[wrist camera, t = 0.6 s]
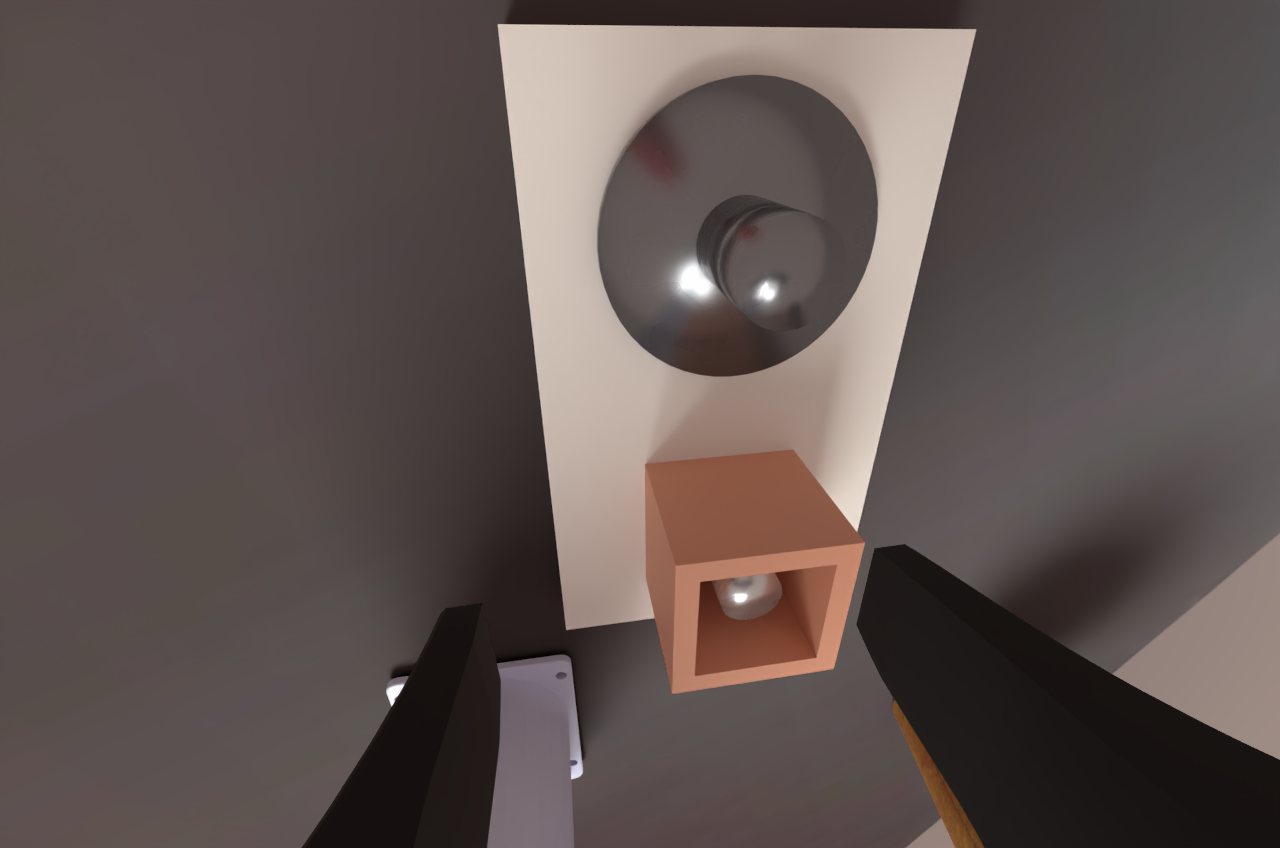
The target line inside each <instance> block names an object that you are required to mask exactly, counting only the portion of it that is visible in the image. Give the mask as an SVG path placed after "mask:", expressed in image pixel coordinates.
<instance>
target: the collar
mask: <svg viewBox="0 0 1280 848" xmlns="http://www.w3.org/2000/svg"><path fill="white" fill-rule="evenodd" d="M645 543H646V582H647V586H648V590H649V595H650V599H651V603H652V608H653V612H654V617H655V621H656V625H657V630H658V634H659V638H660V643H661V647H662V652H663V656H664V660H665V665H666V669H667V673H668V678H669V682H670V687H671V691H672V694H675V693H682V692H688V691H694V690H701V689H707V688H714V687H720V686H727V685H733V684H740V683H746V682H753V681H759V680H765V679H772V678H778V677H785V676H791V675H798V674H804V673H811V672H817V671H824V670H830V669H834V665H835V661H836V657H837V653H838V649H839V645H840V641H841V637H842V633H843V629H844V625H845V621H846V617H847V613H848V609H849V605H850V601H851V597H852V593H853V589H854V585H855V581H856V577H857V573H858V569H859V565H860V561H861V557H862V553H863V549H864V545H865V542H864V541H863V539H862V538H861V537H860V535H859V534H858V533H857V531H856V530H855V529H854V528H853V526H852V525H851V524H850V522H849V521H848V520H847V518H846V517H845V516H844V515H843V513H842V512H841V511H840V509H839V508H838V507H837V506H836V504H835V503H834V502H833V500H832V499H831V498H830V496H829V495H828V494H827V493H826V491H825V490H824V489H823V487H822V486H821V485H820V484H819V482H818V481H817V480H816V478H815V477H814V476H813V474H812V473H811V472H810V471H809V469H808V468H807V467H806V465H805V464H804V463H803V461H802V460H801V459H800V458H799V456H798V455H797V454H796V452H795V451H794V450H783V451H772V452H762V453H752V454H742V455H731V456H721V457H711V458H700V459H690V460H680V461H670V462H659V463H649V464H645ZM774 572H775V574H776V576H777V578H778V580H779V582H780V583H781V586H782V596H781V598H780V600H779V602H778V603H777V605H776V606H775V607H774V608H773V609H772V610H771V611H769V612H768V613H766V614H764V615H762V616H760V617H758V618H754V619H750V620H737V619H733V618H731V617H729V616H727V615H726V614H725V613H724V612H723V610H722V608H721V605H720V603H719V600H718V597H717V595H716V592H715V589H714V586H713V584H712V581H711V580H719V579H727V578H735V577H743V576H751V575H758V574H766V573H774Z"/></svg>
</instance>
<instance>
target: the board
mask: <svg viewBox="0 0 1280 848" xmlns="http://www.w3.org/2000/svg"><path fill="white" fill-rule="evenodd" d="M498 32H499V41H500V49H501V58H502V67H503V76H504V85H505V94H506V102H507V111H508V120H509V129H510V138H511V147H512V155H513V164H514V173H515V182H516V191H517V200H518V208H519V217H520V226H521V235H522V244H523V253H524V262H525V270H526V279H527V288H528V297H529V306H530V315H531V323H532V332H533V341H534V350H535V359H536V368H537V376H538V385H539V394H540V403H541V412H542V421H543V429H544V438H545V447H546V456H547V465H548V474H549V482H550V491H551V500H552V509H553V518H554V527H555V535H556V544H557V553H558V562H559V571H560V580H561V588H562V597H563V606H564V615H565V624H566V630H570V629H578V628H585V627H593V626H600V625H607V624H615V623H622V622H629V621H637V620H644V619H652V618H655V617H654V612H653V608H652V603H651V599H650V595H649V590H648V586H647V582H646V543H645V464H649V463H659V462H670V461H680V460H690V459H700V458H711V457H721V456H731V455H742V454H752V453H762V452H772V451H783V450H794V451H795V452H796V454H797V455H798V456H799V458H800V459H801V460H802V461H803V463H804V464H805V465H806V467H807V468H808V469H809V471H810V472H811V473H812V474H813V476H814V477H815V478H816V480H817V481H818V482H819V484H820V485H821V486H822V487H823V489H824V490H825V491H826V493H827V494H828V495H829V496H830V498H831V499H832V500H833V502H834V503H835V504H836V506H837V507H838V508H839V509H840V511H841V512H842V513H843V515H844V516H845V517H846V518H847V520H848V521H849V522H850V524H851V525H852V526H853V528H854V529H855V530H856V531H858V526H859V522H860V518H861V514H862V509H863V505H864V501H865V497H866V493H867V488H868V484H869V480H870V476H871V472H872V467H873V463H874V459H875V455H876V450H877V446H878V442H879V438H880V434H881V429H882V425H883V421H884V417H885V412H886V408H887V404H888V400H889V396H890V391H891V387H892V383H893V379H894V375H895V370H896V366H897V362H898V358H899V353H900V349H901V345H902V341H903V337H904V332H905V328H906V324H907V320H908V315H909V311H910V307H911V303H912V299H913V294H914V290H915V286H916V282H917V278H918V273H919V269H920V265H921V261H922V256H923V252H924V248H925V244H926V240H927V235H928V231H929V227H930V223H931V218H932V214H933V210H934V206H935V202H936V197H937V193H938V189H939V185H940V180H941V176H942V172H943V168H944V164H945V159H946V155H947V151H948V147H949V143H950V138H951V134H952V130H953V126H954V121H955V117H956V113H957V109H958V105H959V100H960V96H961V92H962V88H963V83H964V79H965V75H966V71H967V67H968V62H969V58H970V54H971V50H972V46H973V41H974V37H975V33H976V29H897V28H803V27H709V26H615V25H521V24H498ZM754 74H755V75H767V76H777V77H781V78H785V79H788V80H792V81H796V82H798V83H800V84H802V85H805V86H807V87H809V88H812V89H813V90H815V91H816V92H818V93H819V94H821V95H823V96H824V97H826V98H827V99H829V100H830V101H831V102H832V103H833V104H834V105H835V106H836V107H837V108H838V109H839V110H841V111H842V112H843V113H844V115H845V116H846V117H847V118H848V120H849V121H850V122H851V124H852V125H853V126H854V127H855V129H856V131H857V132H858V134H859V136H860V138H861V140H862V141H863V143H864V145H865V147H866V150H867V153H868V155H869V158H870V160H871V163H872V167H873V171H874V176H875V180H876V187H877V197H878V221H877V228H876V236H875V241H874V245H873V249H872V253H871V257H870V260H869V263H868V265H867V268H866V271H865V274H864V276H863V278H862V280H861V282H860V284H859V286H858V288H857V290H856V292H855V294H854V295H853V297H852V299H851V300H850V302H849V303H848V305H847V306H846V308H845V309H844V311H843V312H842V313H841V314H840V316H839V317H838V318H837V319H836V321H835V322H834V323H833V324H832V325H831V326H830V327H829V328H828V329H827V330H826V331H825V332H824V333H823V334H822V335H821V336H820V337H819V338H818V339H817V340H815V341H814V342H813V343H812V344H811V345H809V346H808V347H807V348H805V349H804V350H802V351H801V352H799V353H798V354H796V355H795V356H793V357H791V358H789V359H787V360H786V361H784V362H782V363H780V364H778V365H775V366H772V367H770V368H767V369H765V370H762V371H758V372H754V373H750V374H746V375H738V376H730V377H713V376H704V375H698V374H694V373H690V372H686V371H682V370H680V369H677V368H675V367H672V366H670V365H668V364H666V363H664V362H663V361H661V360H659V359H657V358H655V357H654V356H653V355H651V354H650V353H649V352H648V351H646V350H645V349H644V348H642V347H641V346H640V345H639V344H638V343H637V342H636V341H635V340H634V339H633V338H632V337H631V336H630V334H629V333H628V332H627V330H626V329H625V328H624V326H623V325H622V324H621V322H620V321H619V319H618V317H617V315H616V313H615V312H614V310H613V308H612V306H611V303H610V301H609V298H608V296H607V293H606V291H605V288H604V285H603V282H602V278H601V274H600V270H599V264H598V255H597V224H598V217H599V210H600V205H601V201H602V198H603V194H604V190H605V187H606V184H607V182H608V179H609V177H610V174H611V172H612V170H613V167H614V165H615V164H616V162H617V160H618V158H619V156H620V155H621V153H622V151H623V149H624V148H625V146H626V145H627V144H628V142H629V141H630V140H631V138H632V137H633V136H634V134H635V133H636V132H637V130H638V129H639V128H640V127H641V126H642V125H643V124H644V123H645V122H646V121H647V120H648V119H649V118H650V117H651V116H652V115H653V114H654V113H656V112H657V111H658V110H659V109H661V108H662V107H663V106H664V105H666V104H667V103H668V102H669V101H671V100H673V99H675V98H676V97H678V96H680V95H681V94H683V93H685V92H686V91H688V90H691V89H693V88H696V87H698V86H700V85H703V84H705V83H708V82H712V81H716V80H720V79H724V78H728V77H733V76H742V75H754Z"/></svg>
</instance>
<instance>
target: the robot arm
mask: <svg viewBox="0 0 1280 848" xmlns="http://www.w3.org/2000/svg"><path fill="white" fill-rule="evenodd" d="M857 627H858V629H859V631H860V634H861V636H862V638H863V640H864V642H865V645H866V647H867V649H868V651H869V653H870V656H871V658H872V660H873V662H874V664H875V666H876V668H877V670H878V672H879V674H880V676H881V678H882V680H883V681H884V683H885V685H886V686H887V688H888V690H889V691H890V693H891V694H892V696H893V698H894V699H895V701H896V703H897V704H898V706H899V707H900V709H901V711H902V712H903V714H904V716H905V717H906V719H907V720H908V722H909V724H910V725H911V727H912V728H913V730H914V732H915V733H916V735H917V736H918V738H919V740H920V741H921V743H922V744H923V746H924V747H925V749H926V751H927V752H928V754H929V755H930V757H931V759H932V760H933V762H934V763H935V765H936V767H937V768H938V770H939V771H940V773H941V775H942V776H943V778H944V779H945V781H946V783H947V784H948V786H949V787H950V789H951V791H952V792H953V794H954V795H955V797H956V799H957V800H958V802H959V803H960V805H961V807H962V809H963V810H964V812H965V814H966V815H967V817H968V819H969V821H970V822H971V824H972V826H973V828H974V829H975V831H976V833H977V835H978V837H979V839H980V840H981V842H982V844H983V846H984V848H1280V760H1279V759H1277V758H1275V757H1273V756H1270V755H1268V754H1266V753H1264V752H1262V751H1260V750H1258V749H1255V748H1253V747H1251V746H1249V745H1247V744H1245V743H1243V742H1241V741H1239V740H1237V739H1234V738H1232V737H1230V736H1228V735H1226V734H1224V733H1222V732H1220V731H1218V730H1216V729H1214V728H1212V727H1210V726H1208V725H1206V724H1204V723H1202V722H1200V721H1198V720H1196V719H1195V718H1193V717H1191V716H1189V715H1187V714H1185V713H1183V712H1181V711H1179V710H1177V709H1175V708H1173V707H1172V706H1170V705H1168V704H1166V703H1164V702H1162V701H1160V700H1158V699H1156V698H1155V697H1152V696H1151V695H1149V694H1147V693H1145V692H1143V691H1141V690H1140V689H1138V688H1136V687H1134V686H1132V685H1130V684H1129V683H1127V682H1125V681H1123V680H1121V679H1120V678H1118V677H1116V676H1114V675H1113V674H1111V673H1109V672H1107V671H1106V670H1104V669H1102V668H1101V667H1099V666H1097V665H1096V664H1094V663H1092V662H1090V661H1089V660H1087V659H1085V658H1084V657H1082V656H1080V655H1078V654H1077V653H1075V652H1073V651H1072V650H1070V649H1068V648H1067V647H1065V646H1063V645H1062V644H1060V643H1058V642H1057V641H1055V640H1053V639H1052V638H1050V637H1049V636H1047V635H1045V634H1044V633H1042V632H1040V631H1039V630H1037V629H1036V628H1034V627H1032V626H1031V625H1029V624H1028V623H1026V622H1024V621H1023V620H1021V619H1020V618H1018V617H1017V616H1015V615H1014V614H1012V613H1010V612H1009V611H1007V610H1006V609H1004V608H1003V607H1001V606H1000V605H998V604H996V603H995V602H993V601H992V600H990V599H989V598H987V597H986V596H984V595H983V594H981V593H980V592H978V591H977V590H975V589H974V588H972V587H970V586H969V585H967V584H966V583H964V582H963V581H961V580H960V579H958V578H957V577H955V576H954V575H952V574H951V573H949V572H948V571H946V570H945V569H943V568H942V567H940V566H938V565H937V564H935V563H934V562H932V561H931V560H929V559H928V558H926V557H925V556H923V555H921V554H920V553H918V552H917V551H915V550H913V549H912V548H910V547H908V546H907V545H905V544H903V545H896V546H889V547H882V548H875V549H874V553H873V557H872V562H871V566H870V570H869V574H868V578H867V583H866V587H865V591H864V595H863V599H862V604H861V608H860V612H859V616H858V620H857ZM386 693H387V696H388V698H389V701H390V704H391V706H392V707H391V709H390V711H389V712H388V714H387V716H386V717H385V719H384V721H383V723H382V724H381V726H380V728H379V730H378V731H377V733H376V735H375V736H374V738H373V740H372V741H371V743H370V745H369V746H368V748H367V749H366V751H365V753H364V754H363V756H362V757H361V759H360V760H359V762H358V764H357V765H356V767H355V768H354V770H353V771H352V773H351V774H350V776H349V778H348V779H347V781H346V782H345V784H344V785H343V787H342V789H341V790H340V792H339V793H338V795H337V796H336V798H335V800H334V801H333V803H332V804H331V806H330V807H329V809H328V810H327V812H326V813H325V815H324V816H323V818H322V819H321V821H320V822H319V823H318V825H317V826H316V828H315V829H314V831H313V832H312V834H311V835H310V837H309V838H308V840H307V841H306V842H305V844H304V845H303V847H302V848H574V831H573V809H572V786H571V779H575V778H578V777H580V776H581V775H582V774H583V763H582V754H581V745H580V736H579V727H578V718H577V709H576V700H575V691H574V682H573V673H572V664H571V659H570V658H569V657H568V656H566V655H553V656H546V657H539V658H532V659H525V660H518V661H511V662H504V663H497V662H496V657H495V653H494V649H493V645H492V640H491V636H490V632H489V628H488V623H487V619H486V615H485V611H484V606H483V603H480V604H473V605H466V606H459V607H452V608H446V609H445V610H444V611H443V612H442V613H441V614H440V617H439V619H438V621H437V623H436V625H435V627H434V629H433V631H432V633H431V635H430V637H429V639H428V641H427V643H426V645H425V647H424V649H423V651H422V653H421V655H420V657H419V659H418V660H417V662H416V664H415V666H414V668H413V670H412V672H411V673H410V675H409V676H404V677H398V678H394V679H392V680H391V681H389V683H388V686H387V689H386Z"/></svg>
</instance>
